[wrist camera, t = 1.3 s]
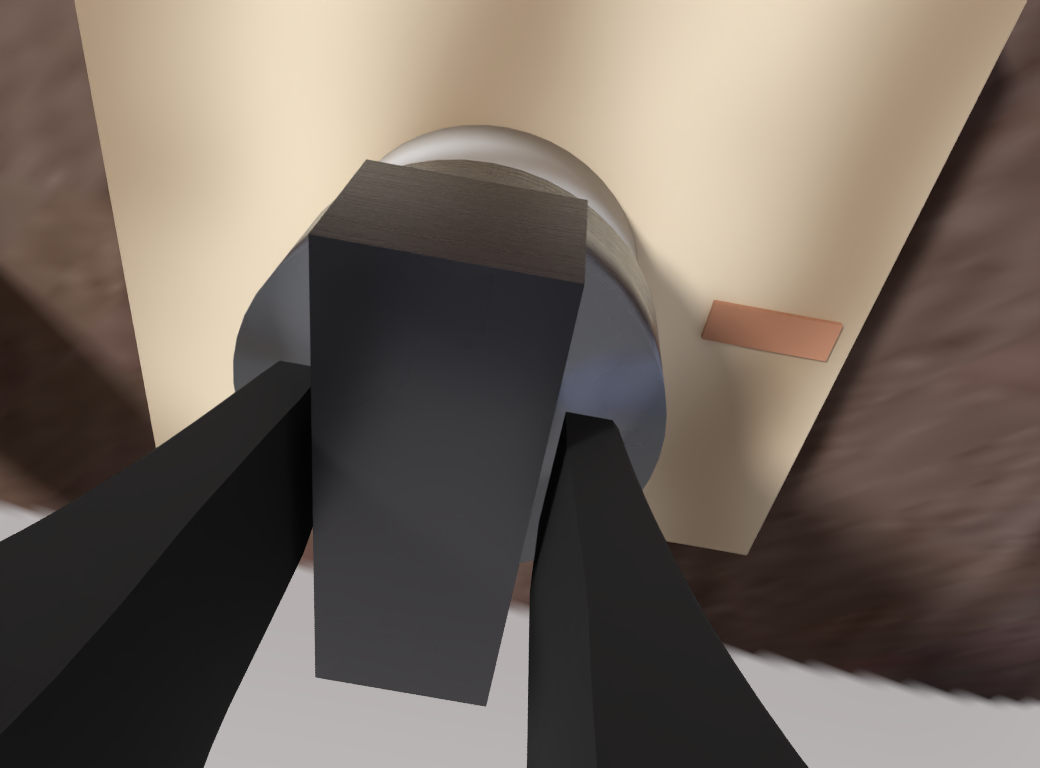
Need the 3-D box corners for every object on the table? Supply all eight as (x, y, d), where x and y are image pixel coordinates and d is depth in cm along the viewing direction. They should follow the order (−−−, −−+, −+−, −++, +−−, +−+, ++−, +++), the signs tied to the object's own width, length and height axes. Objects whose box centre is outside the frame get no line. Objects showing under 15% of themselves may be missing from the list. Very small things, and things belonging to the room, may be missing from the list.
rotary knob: (717, 167, 10) (776, 318, 7) (590, 565, 15) (587, 767, 11) (274, 84, 10) (113, 197, 7) (292, 513, 15) (203, 701, 11)
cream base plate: (973, -28, 12) (1112, 15, 9) (734, 495, 19) (762, 627, 16) (115, -193, 12) (-70, -211, 8) (194, 400, 19) (110, 513, 16)
